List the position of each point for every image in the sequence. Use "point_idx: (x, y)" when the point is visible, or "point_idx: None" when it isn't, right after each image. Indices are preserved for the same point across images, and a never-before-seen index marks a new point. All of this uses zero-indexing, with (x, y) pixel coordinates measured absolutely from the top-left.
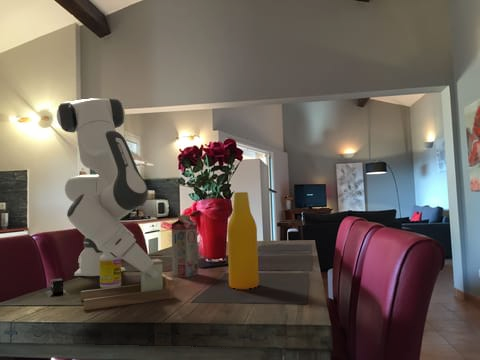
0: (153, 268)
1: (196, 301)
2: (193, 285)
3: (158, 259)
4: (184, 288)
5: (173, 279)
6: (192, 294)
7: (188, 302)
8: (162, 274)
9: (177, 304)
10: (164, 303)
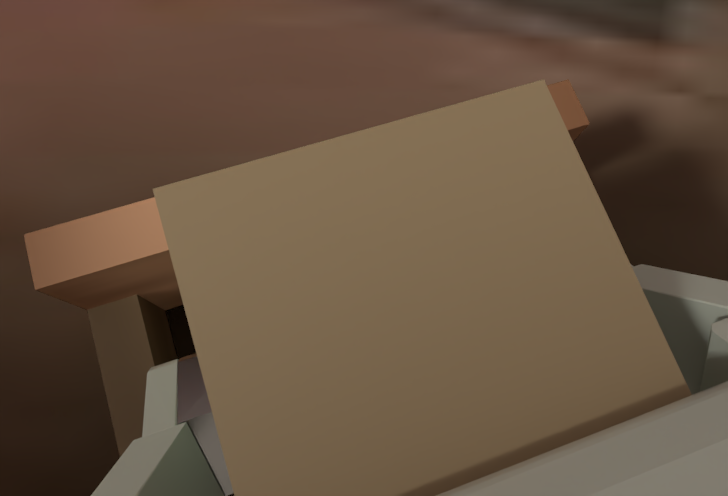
0: (700, 276)
1: (641, 12)
2: (30, 2)
3: (261, 173)
4: (137, 81)
5: (561, 82)
6: (407, 27)
7: (663, 64)
8: (150, 224)
9: (714, 139)
10: (674, 237)
